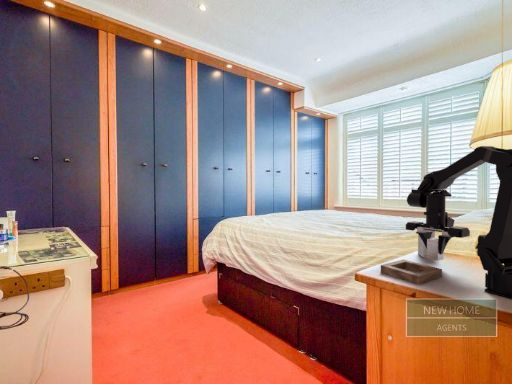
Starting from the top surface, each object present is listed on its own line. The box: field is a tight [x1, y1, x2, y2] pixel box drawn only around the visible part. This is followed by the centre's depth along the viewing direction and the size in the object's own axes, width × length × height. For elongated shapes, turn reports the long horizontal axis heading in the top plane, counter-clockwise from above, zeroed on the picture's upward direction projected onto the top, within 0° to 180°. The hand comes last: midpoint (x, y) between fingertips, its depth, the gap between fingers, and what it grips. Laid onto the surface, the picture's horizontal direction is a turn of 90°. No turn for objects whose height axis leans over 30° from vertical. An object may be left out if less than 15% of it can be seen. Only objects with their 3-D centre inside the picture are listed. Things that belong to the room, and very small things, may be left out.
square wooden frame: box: [380, 259, 443, 285], centre depth 91 cm, size 13×13×2 cm
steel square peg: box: [426, 237, 444, 262], centre depth 96 cm, size 4×4×7 cm
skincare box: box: [417, 231, 436, 259], centre depth 113 cm, size 6×4×12 cm
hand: (435, 252), depth 96 cm, fingers closed on steel square peg, 4 cm apart
